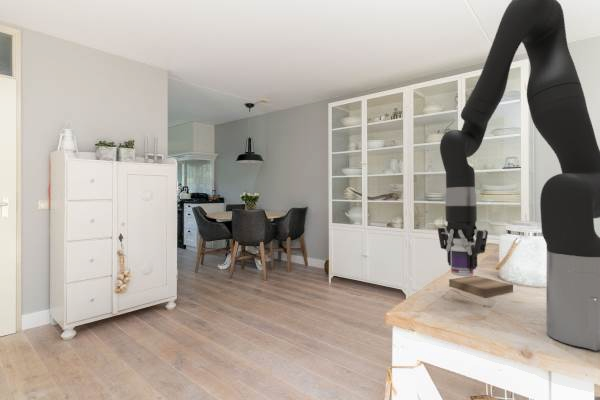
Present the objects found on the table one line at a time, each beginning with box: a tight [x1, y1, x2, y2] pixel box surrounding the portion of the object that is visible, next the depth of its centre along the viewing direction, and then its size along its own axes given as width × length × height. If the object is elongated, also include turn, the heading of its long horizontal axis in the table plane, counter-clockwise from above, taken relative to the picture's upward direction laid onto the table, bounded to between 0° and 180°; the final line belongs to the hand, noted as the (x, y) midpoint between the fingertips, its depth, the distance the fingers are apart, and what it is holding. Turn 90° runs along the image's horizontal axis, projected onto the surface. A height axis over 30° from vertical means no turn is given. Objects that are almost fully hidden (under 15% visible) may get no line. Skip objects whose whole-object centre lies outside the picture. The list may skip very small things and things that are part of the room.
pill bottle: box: [450, 238, 474, 277], centre depth 85 cm, size 5×5×10 cm
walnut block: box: [448, 275, 514, 299], centre depth 96 cm, size 12×12×3 cm
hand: (461, 267), depth 85 cm, fingers closed on pill bottle, 5 cm apart
